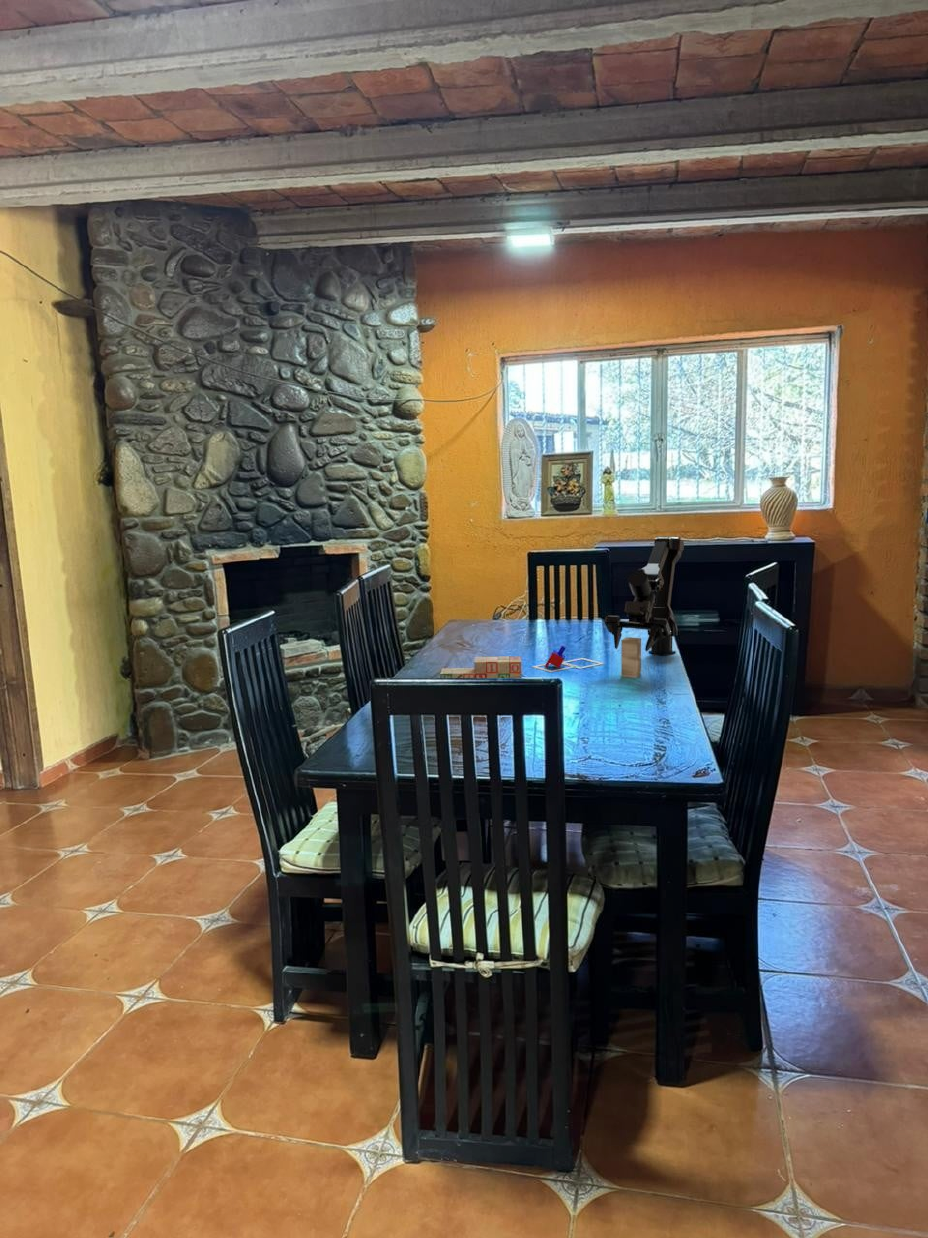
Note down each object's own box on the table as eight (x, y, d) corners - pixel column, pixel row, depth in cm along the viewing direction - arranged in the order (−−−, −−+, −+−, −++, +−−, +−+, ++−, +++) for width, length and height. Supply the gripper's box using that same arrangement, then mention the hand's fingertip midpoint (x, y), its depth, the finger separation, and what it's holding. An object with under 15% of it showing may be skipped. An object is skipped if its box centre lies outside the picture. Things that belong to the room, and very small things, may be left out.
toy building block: (556, 673, 251) (568, 651, 249) (544, 666, 252) (556, 644, 249) (557, 670, 255) (570, 648, 252) (546, 663, 255) (558, 642, 253)
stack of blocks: (440, 708, 212) (438, 662, 210) (443, 701, 218) (441, 657, 216) (522, 707, 211) (521, 661, 208) (522, 700, 217) (521, 655, 215)
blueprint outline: (579, 657, 264) (579, 657, 264) (604, 663, 254) (604, 663, 254) (531, 667, 254) (531, 666, 254) (555, 673, 244) (555, 673, 244)
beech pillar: (626, 673, 242) (626, 637, 240) (640, 674, 240) (641, 638, 238) (621, 676, 238) (621, 639, 236) (636, 677, 236) (636, 641, 234)
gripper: (606, 589, 244) (593, 631, 236) (668, 591, 234) (656, 635, 227) (615, 611, 252) (603, 652, 244) (675, 614, 243) (664, 657, 235)
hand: (630, 649), depth 237 cm, fingers open, 9 cm apart
